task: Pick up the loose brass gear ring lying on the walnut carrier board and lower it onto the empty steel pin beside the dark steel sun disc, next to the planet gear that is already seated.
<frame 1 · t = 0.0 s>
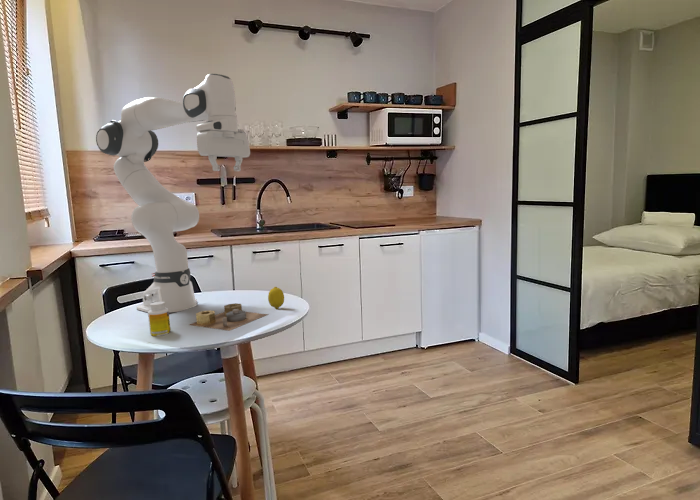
hand: (227, 171, 147), 48 cm above the table, tool pointing down, fingers open, 8 cm apart
carrier: (229, 323, 145), on the table
lemon: (277, 309, 160), on the table
supplement bottle: (161, 337, 134), on the table
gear: (206, 322, 143), point 1 cm above the table, touching carrier
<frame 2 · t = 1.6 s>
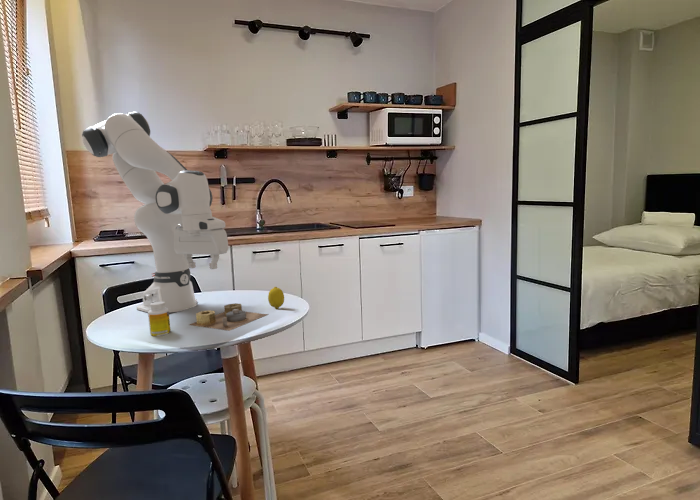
hand: (202, 268, 141), 18 cm above the table, tool pointing down, fingers open, 8 cm apart
nothing on the table moved.
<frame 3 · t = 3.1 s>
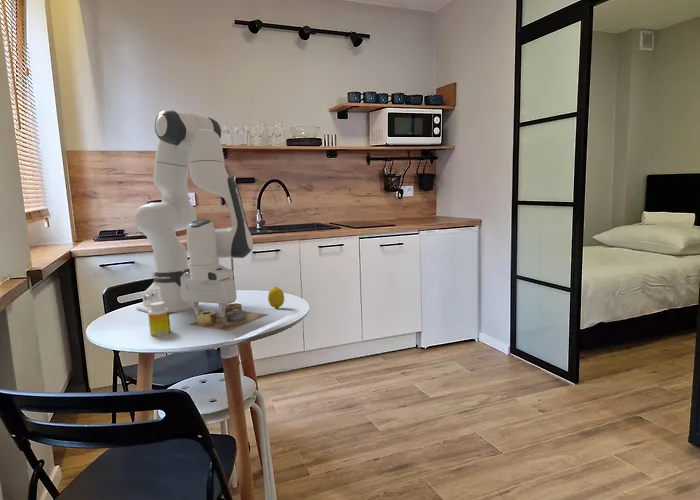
hand: (210, 316, 143), 3 cm above the table, tool pointing down, fingers open, 8 cm apart
nothing on the table moved.
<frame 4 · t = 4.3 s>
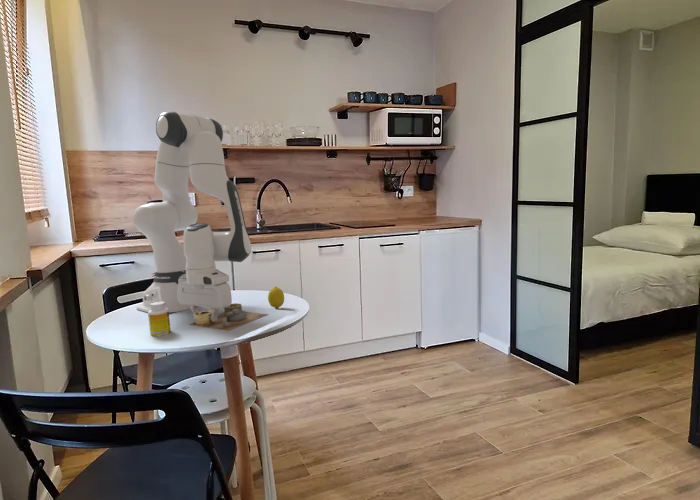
hand: (205, 319, 143), 2 cm above the table, tool pointing down, fingers closed on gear, 5 cm apart
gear: (205, 322, 143), point 1 cm above the table, touching gripper
everything else where it was.
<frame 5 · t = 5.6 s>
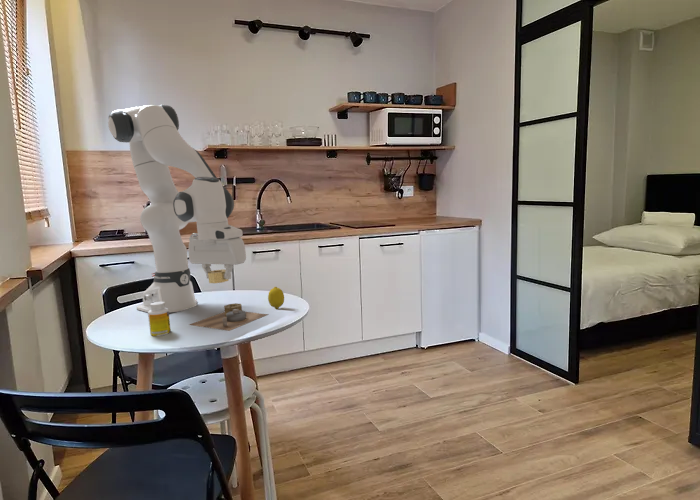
hand: (219, 278, 135), 16 cm above the table, tool pointing down, fingers closed on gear, 5 cm apart
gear: (219, 281, 135), point 15 cm above the table, touching gripper
everything else where it was.
when the fingers open (3 cm above the table, at t = 7.8 s): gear stays where it is, resting on carrier.
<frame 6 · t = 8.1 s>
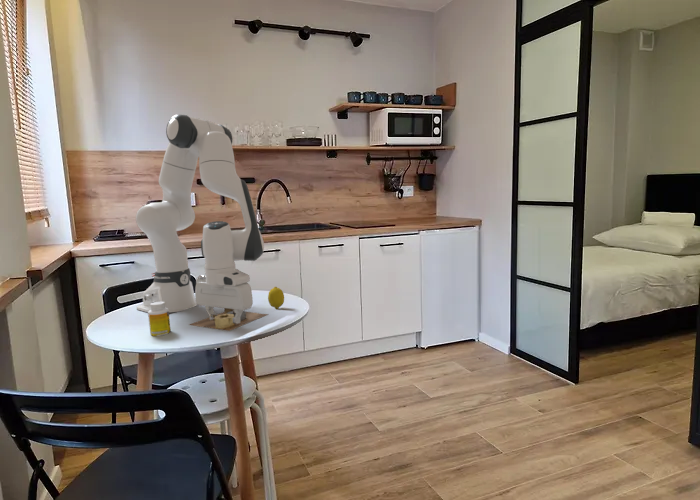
hand: (224, 321, 138), 3 cm above the table, tool pointing down, fingers open, 8 cm apart
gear: (225, 326, 138), point 1 cm above the table, touching carrier
everything else where it was.
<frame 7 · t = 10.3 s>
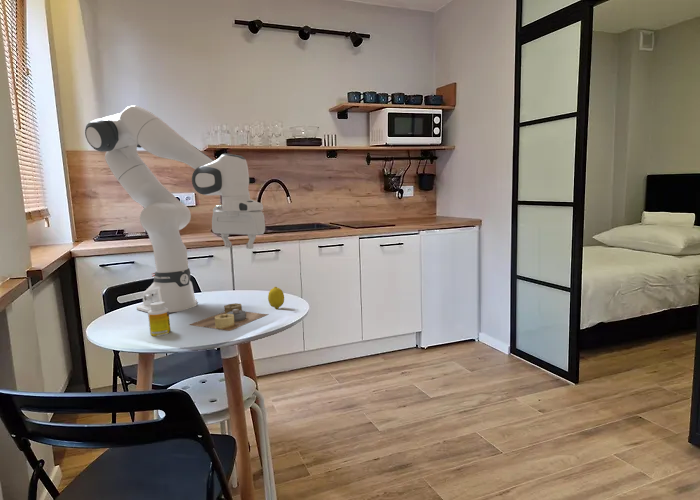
hand: (238, 247, 148), 23 cm above the table, tool pointing down, fingers open, 8 cm apart
nothing on the table moved.
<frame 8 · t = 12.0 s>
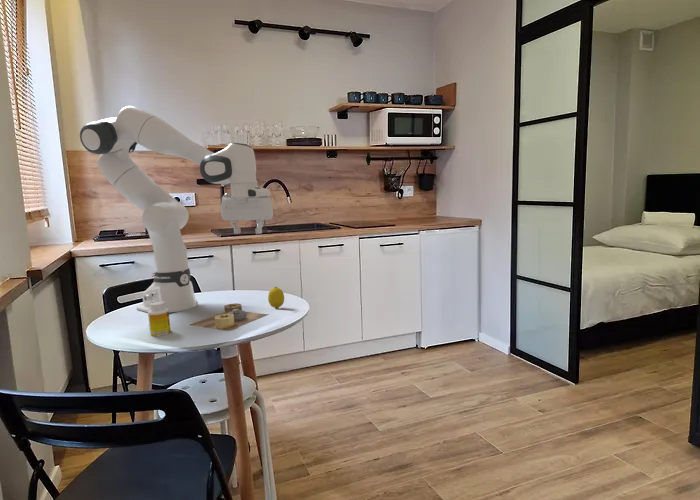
hand: (248, 233, 155), 27 cm above the table, tool pointing down, fingers open, 8 cm apart
nothing on the table moved.
at the end: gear 0.0 cm from the target spot on the carrier, point 1.2 cm above the carrier's base; the gripper is holding nothing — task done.
